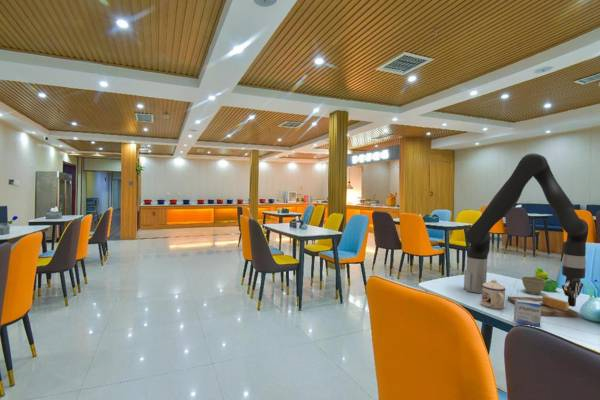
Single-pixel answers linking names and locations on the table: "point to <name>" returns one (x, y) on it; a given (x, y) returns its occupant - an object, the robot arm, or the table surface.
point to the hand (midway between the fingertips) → (571, 305)
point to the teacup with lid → (493, 295)
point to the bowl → (533, 284)
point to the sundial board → (548, 308)
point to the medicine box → (527, 312)
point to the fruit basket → (550, 283)
